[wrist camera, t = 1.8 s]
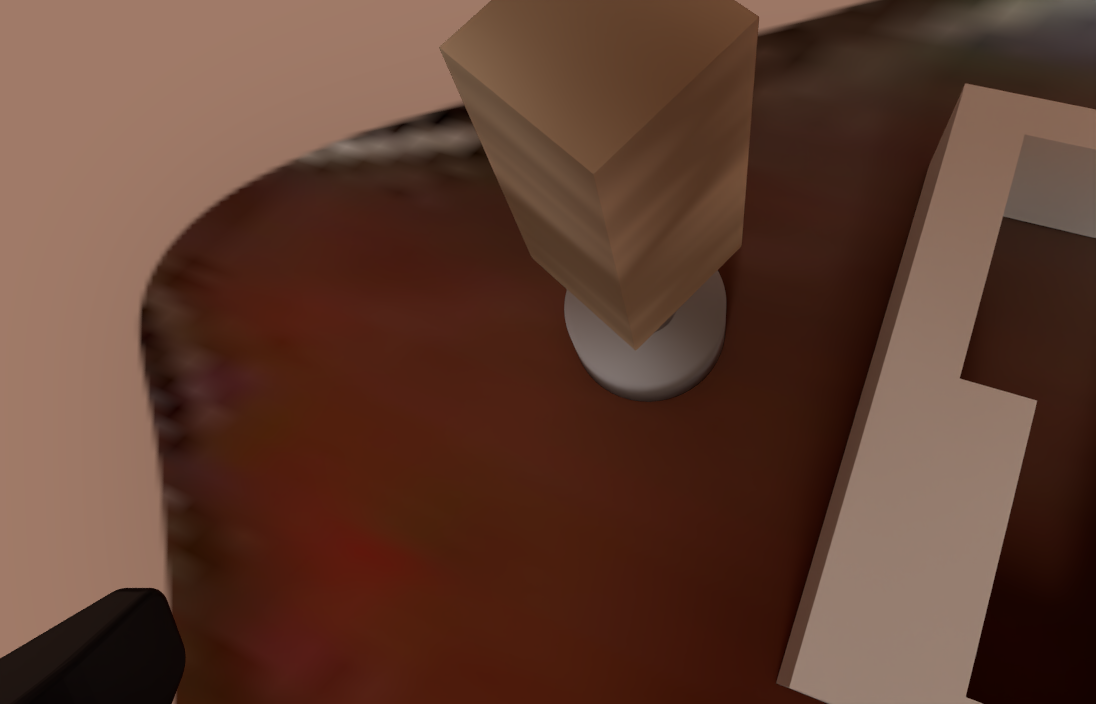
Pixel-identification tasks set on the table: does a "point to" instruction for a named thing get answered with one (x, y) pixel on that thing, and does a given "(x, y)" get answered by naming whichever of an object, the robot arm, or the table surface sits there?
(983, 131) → the keyhole block
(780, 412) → the table surface
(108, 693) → the robot arm
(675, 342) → the maple peg
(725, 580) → the table surface
